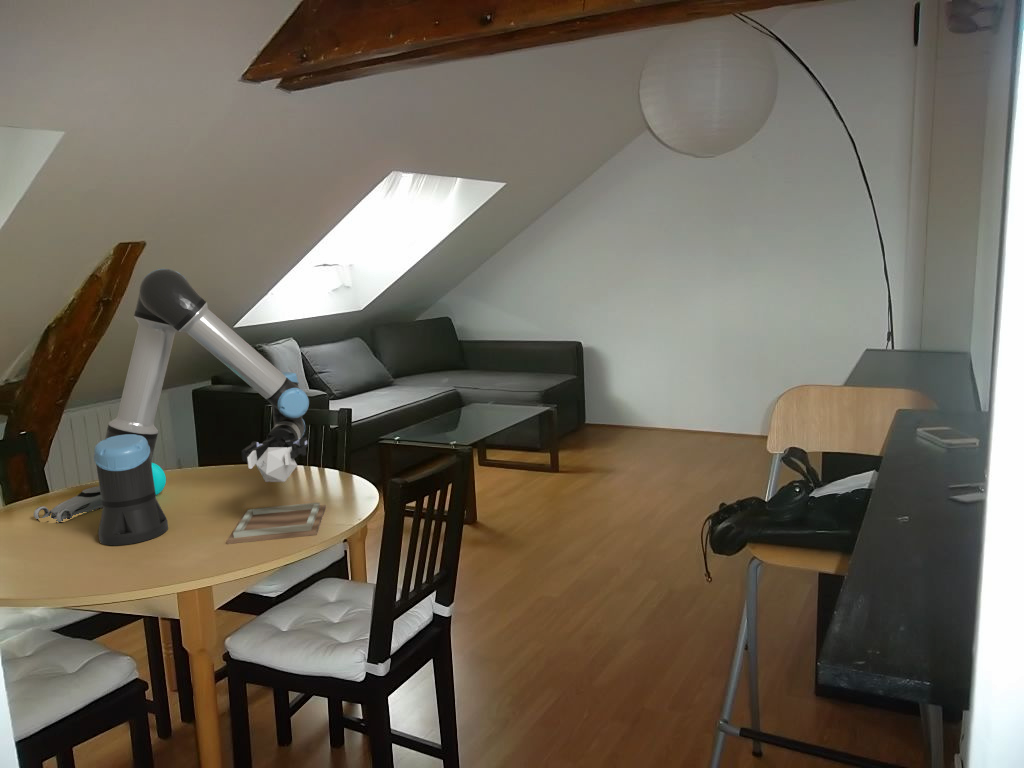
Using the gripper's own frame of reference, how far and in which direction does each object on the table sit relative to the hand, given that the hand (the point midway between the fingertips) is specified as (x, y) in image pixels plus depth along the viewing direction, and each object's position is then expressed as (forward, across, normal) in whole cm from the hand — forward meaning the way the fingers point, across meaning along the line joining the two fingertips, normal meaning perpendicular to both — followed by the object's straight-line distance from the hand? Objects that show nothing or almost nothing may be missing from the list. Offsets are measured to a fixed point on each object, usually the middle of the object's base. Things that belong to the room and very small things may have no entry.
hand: (268, 461), depth 186 cm
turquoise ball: (-38, +42, -17) cm, 59 cm away
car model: (-36, +56, -17) cm, 69 cm away
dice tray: (-5, 0, -17) cm, 18 cm away
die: (-5, -1, -6) cm, 8 cm away
